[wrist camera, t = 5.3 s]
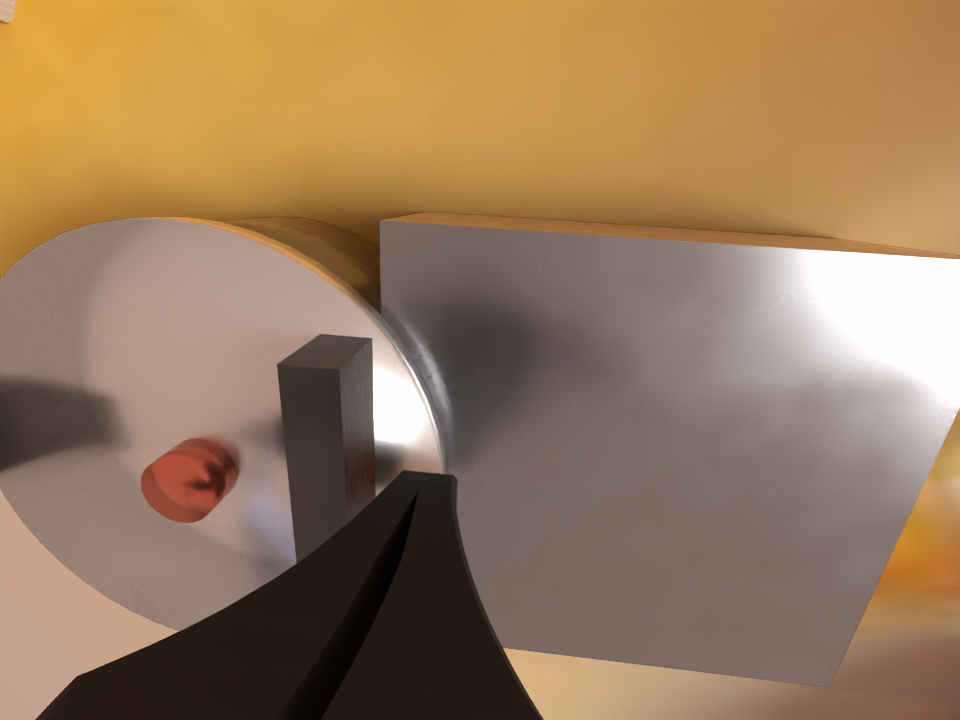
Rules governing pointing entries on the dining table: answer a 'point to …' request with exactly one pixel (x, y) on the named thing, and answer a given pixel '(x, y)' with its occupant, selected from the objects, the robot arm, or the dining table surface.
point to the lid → (196, 409)
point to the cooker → (669, 424)
